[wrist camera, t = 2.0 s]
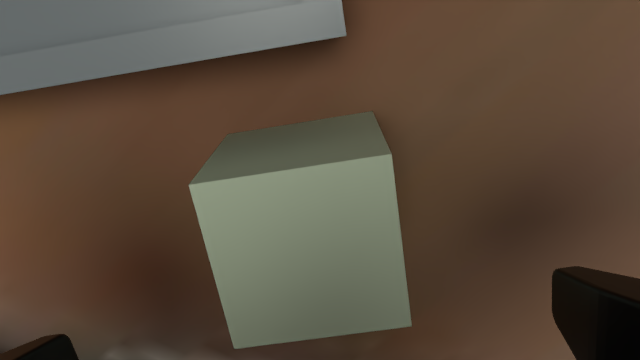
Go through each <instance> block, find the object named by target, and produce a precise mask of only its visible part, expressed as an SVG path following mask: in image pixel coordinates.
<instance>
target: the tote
mask: <svg viewBox="0 0 640 360" xmlns="http://www.w3.org/2000/svg"><path fill="white" fill-rule="evenodd" d="M342 36H346V29H345V22H344V15H343V7H342V0H0V95H3V94H8V93H14V92H20V91H26V90H32V89H38V88H44V87H49V86H55V85H61V84H67V83H73V82H79V81H84V80H90V79H96V78H102V77H108V76H114V75H120V74H125V73H131V72H137V71H143V70H149V69H155V68H160V67H166V66H172V65H178V64H184V63H190V62H196V61H201V60H207V59H213V58H219V57H225V56H231V55H236V54H242V53H248V52H254V51H260V50H266V49H272V48H277V47H283V46H289V45H295V44H301V43H307V42H312V41H318V40H324V39H330V38H336V37H342Z"/></svg>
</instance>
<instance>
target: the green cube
mask: <svg viewBox="0 0 640 360" xmlns="http://www.w3.org/2000/svg"><path fill="white" fill-rule="evenodd" d="M189 188H190V192H191V196H192V199H193V203H194V206H195V210H196V214H197V217H198V221H199V224H200V228H201V232H202V235H203V239H204V242H205V246H206V250H207V253H208V257H209V260H210V264H211V268H212V271H213V275H214V278H215V282H216V286H217V289H218V293H219V296H220V300H221V304H222V307H223V311H224V314H225V318H226V322H227V325H228V329H229V332H230V336H231V340H232V343H233V347H234V349H239V348H247V347H254V346H262V345H270V344H278V343H286V342H293V341H301V340H309V339H317V338H325V337H332V336H340V335H348V334H356V333H364V332H371V331H379V330H387V329H395V328H403V327H410V326H412V323H411V315H410V306H409V298H408V289H407V281H406V272H405V264H404V255H403V247H402V238H401V230H400V221H399V213H398V204H397V196H396V187H395V179H394V170H393V162H392V154H391V151H390V149H389V147H388V145H387V143H386V140H385V138H384V136H383V134H382V131H381V129H380V127H379V125H378V122H377V120H376V118H375V116H374V114H373V111H370V112H364V113H358V114H351V115H345V116H339V117H333V118H326V119H320V120H314V121H308V122H301V123H295V124H289V125H282V126H276V127H270V128H264V129H257V130H251V131H245V132H239V133H232V134H227V136H226V137H225V138H224V140H223V141H222V142H221V143H220V145H219V146H218V147H217V149H216V150H215V151H214V153H213V154H212V155H211V156H210V158H209V159H208V160H207V162H206V163H205V164H204V166H203V167H202V168H201V169H200V171H199V172H198V173H197V175H196V176H195V177H194V179H193V180H192V181H191V182H190V184H189Z"/></svg>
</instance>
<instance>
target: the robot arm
mask: <svg viewBox="0 0 640 360" xmlns="http://www.w3.org/2000/svg"><path fill="white" fill-rule="evenodd" d="M552 313H553V317H554V320H555V323H556V325H557V327H558V328H559V330H560V332H561V334H562V335H563V337H564V339H565V340H566V342H567V344H568V346H569V347H570V349H571V351H572V353H573V354H574V356H575V358H576V359H577V360H640V279H638V278H633V277H628V276H623V275H619V274H614V273H609V272H604V271H599V270H594V269H589V268H584V267H579V266H578V267H577V266H574V267H566V268H559V269H556V270H555V271H554V272H553V275H552ZM0 360H79V359H78V357H77V354H76V352H75V350H74V347H73V345H72V342H71V340H70V338H69V337H68V336H66V335H64V334H57V335H50V336H44V337H41V338H39V339H36V340H34V341H31V342H29V343H26V344H24V345H22V346H19V347H17V348H14V349H12V350H9V351H7V352H4V353H2V354H0Z"/></svg>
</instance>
